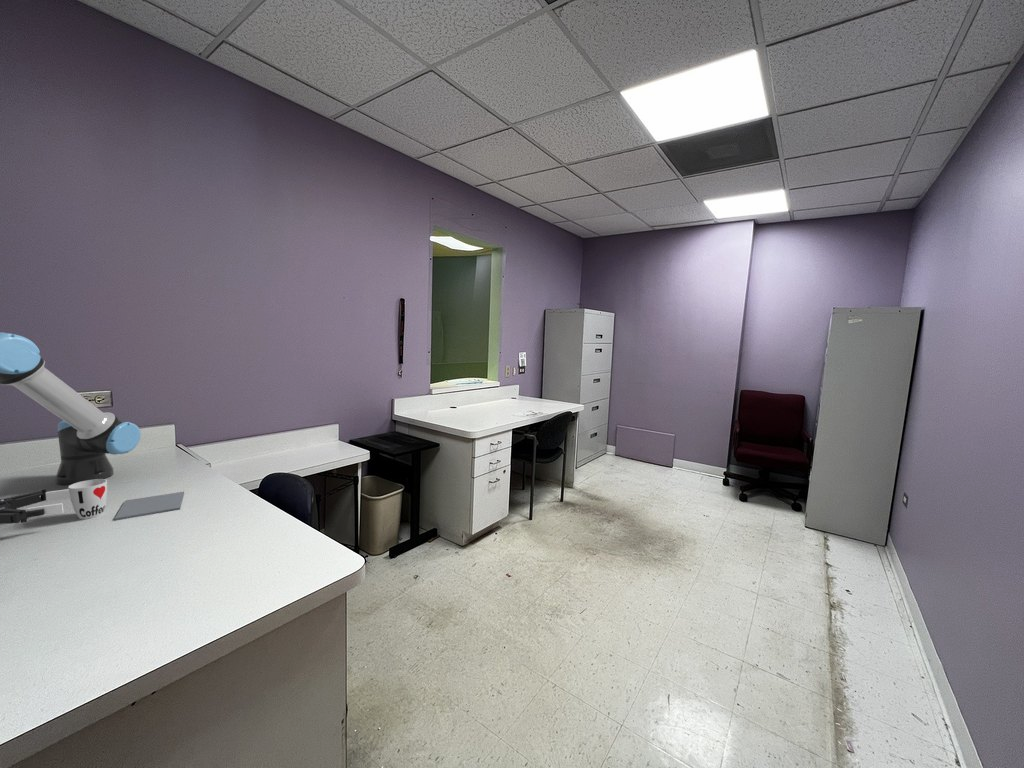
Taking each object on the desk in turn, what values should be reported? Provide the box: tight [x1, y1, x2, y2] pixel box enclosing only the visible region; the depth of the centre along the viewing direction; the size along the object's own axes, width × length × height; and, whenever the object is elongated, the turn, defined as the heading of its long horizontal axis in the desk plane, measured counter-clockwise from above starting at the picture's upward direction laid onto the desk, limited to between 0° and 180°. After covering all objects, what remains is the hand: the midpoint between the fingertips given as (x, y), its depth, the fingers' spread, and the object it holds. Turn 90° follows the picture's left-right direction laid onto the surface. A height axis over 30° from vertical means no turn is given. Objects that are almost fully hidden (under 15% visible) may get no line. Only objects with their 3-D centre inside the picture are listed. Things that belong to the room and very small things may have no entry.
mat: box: [114, 491, 185, 521], centre depth 132 cm, size 16×15×1 cm
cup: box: [67, 478, 108, 520], centre depth 123 cm, size 8×8×10 cm
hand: (70, 499), depth 121 cm, fingers open, 13 cm apart
